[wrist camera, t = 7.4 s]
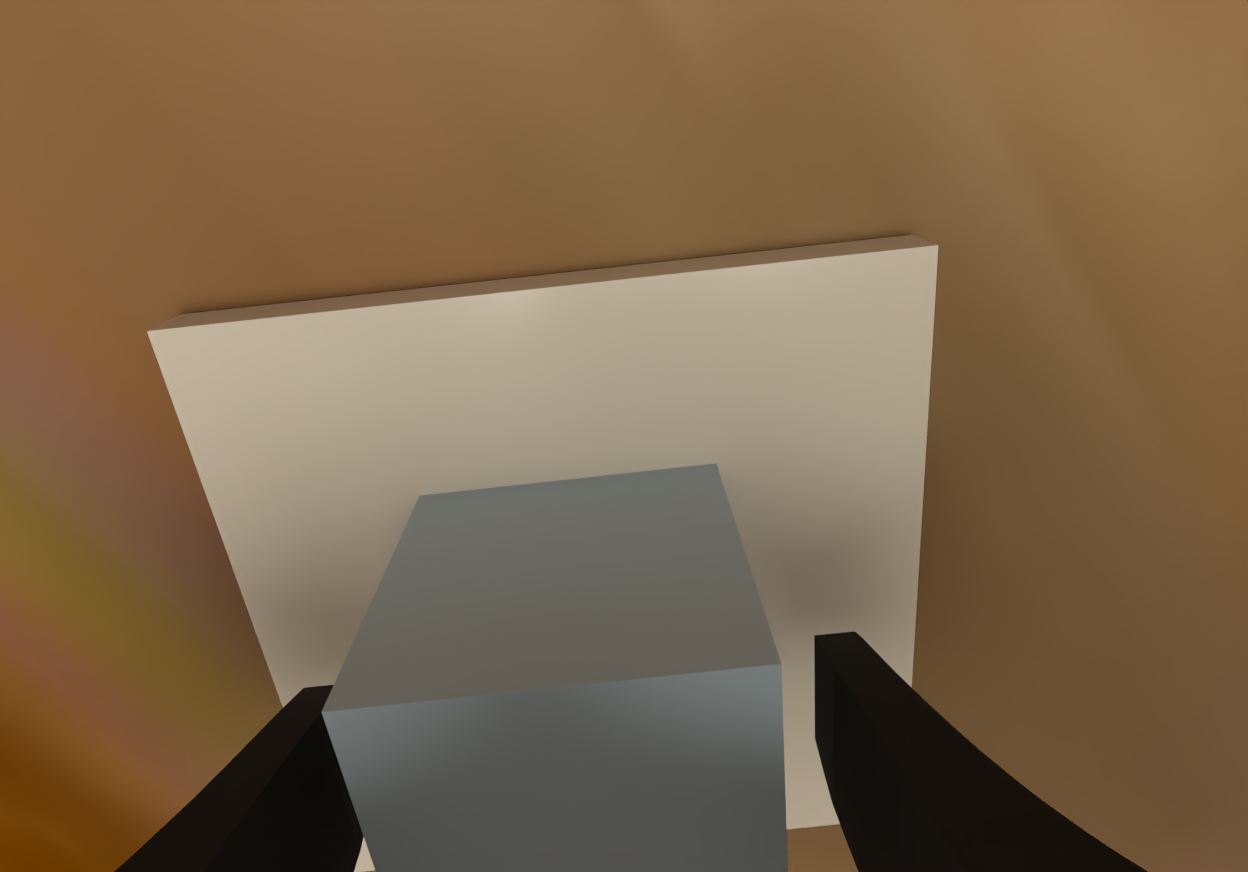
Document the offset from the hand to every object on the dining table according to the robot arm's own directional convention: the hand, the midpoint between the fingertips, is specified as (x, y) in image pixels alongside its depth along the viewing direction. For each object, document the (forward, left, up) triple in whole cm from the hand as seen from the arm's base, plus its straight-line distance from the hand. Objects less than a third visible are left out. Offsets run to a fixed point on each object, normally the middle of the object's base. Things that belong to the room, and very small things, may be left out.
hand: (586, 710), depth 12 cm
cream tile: (0, 0, -3) cm, 3 cm away
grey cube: (0, 0, -2) cm, 2 cm away
